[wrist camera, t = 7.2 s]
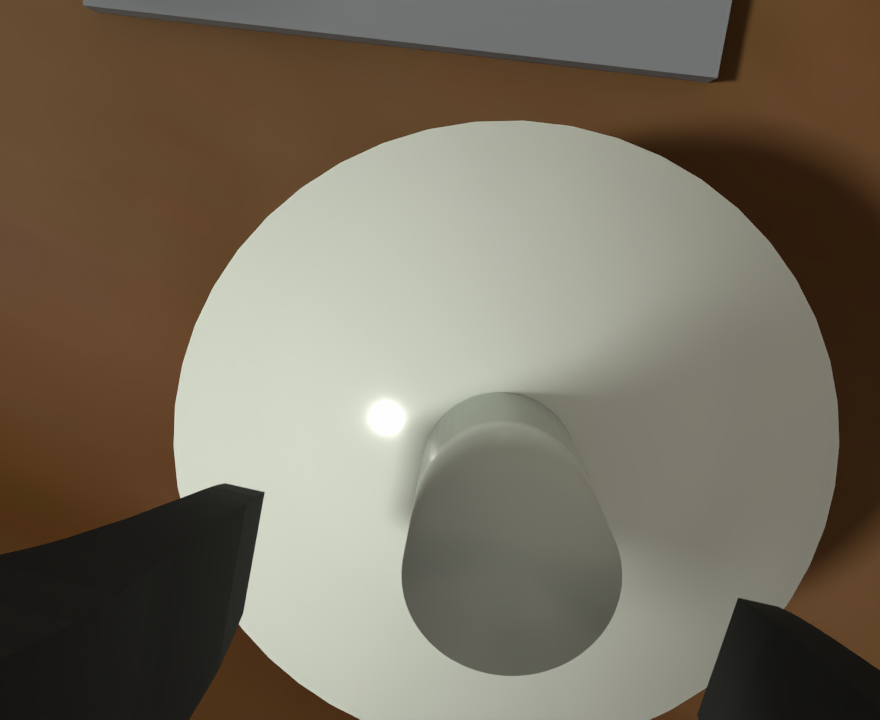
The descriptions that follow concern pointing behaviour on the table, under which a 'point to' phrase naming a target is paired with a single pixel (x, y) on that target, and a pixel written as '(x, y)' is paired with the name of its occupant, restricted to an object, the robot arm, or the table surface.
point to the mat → (486, 28)
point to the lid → (510, 426)
